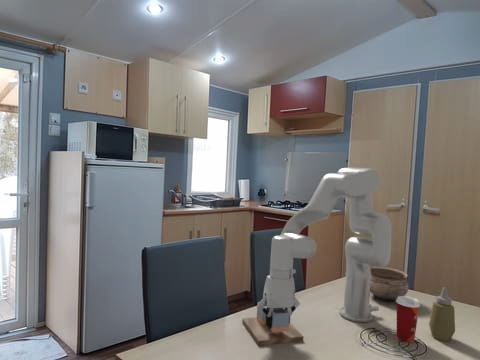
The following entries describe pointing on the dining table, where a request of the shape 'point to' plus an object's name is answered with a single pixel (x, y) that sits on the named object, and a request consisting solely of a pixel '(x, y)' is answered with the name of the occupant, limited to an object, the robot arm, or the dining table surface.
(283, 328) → the sleeve
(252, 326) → the pin board
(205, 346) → the dining table surface
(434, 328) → the squeeze bottle
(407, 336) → the paper cup
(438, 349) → the dining table surface
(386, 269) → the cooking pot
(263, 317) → the sleeve
